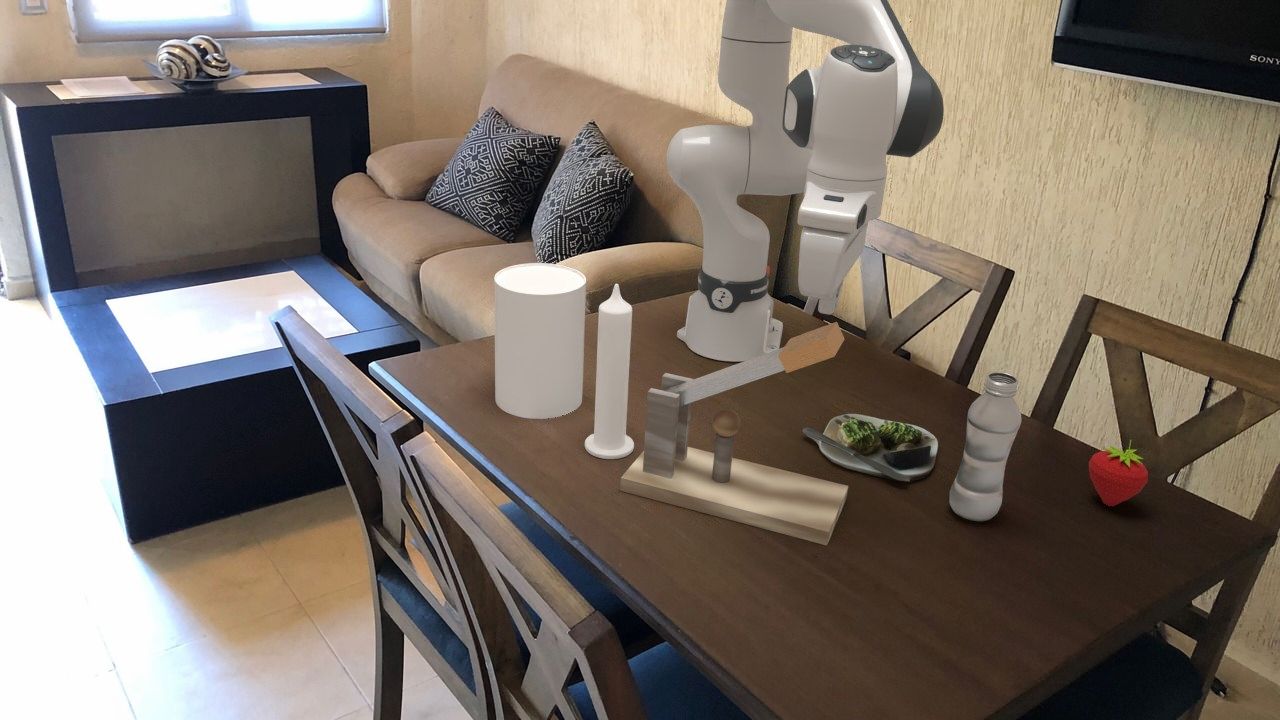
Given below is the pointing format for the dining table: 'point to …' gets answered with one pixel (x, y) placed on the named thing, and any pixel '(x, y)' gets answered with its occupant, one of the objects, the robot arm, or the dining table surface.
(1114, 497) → the strawberry
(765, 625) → the dining table surface
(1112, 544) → the dining table surface
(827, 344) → the press lever
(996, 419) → the plastic bottle
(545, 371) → the canister
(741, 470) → the press base
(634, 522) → the dining table surface
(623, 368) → the candle
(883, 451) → the salad plate
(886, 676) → the dining table surface
